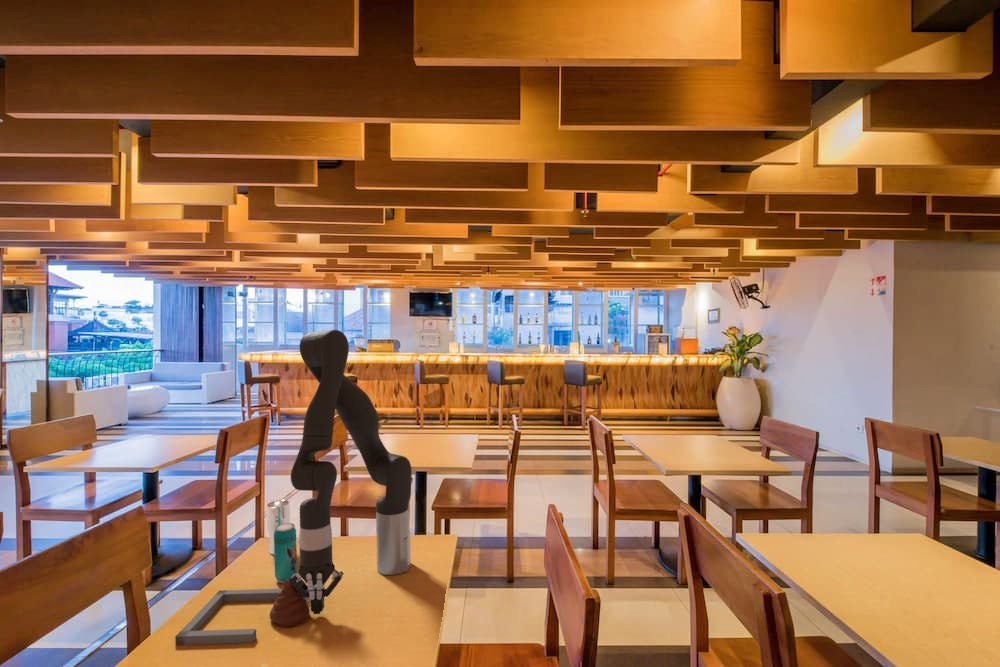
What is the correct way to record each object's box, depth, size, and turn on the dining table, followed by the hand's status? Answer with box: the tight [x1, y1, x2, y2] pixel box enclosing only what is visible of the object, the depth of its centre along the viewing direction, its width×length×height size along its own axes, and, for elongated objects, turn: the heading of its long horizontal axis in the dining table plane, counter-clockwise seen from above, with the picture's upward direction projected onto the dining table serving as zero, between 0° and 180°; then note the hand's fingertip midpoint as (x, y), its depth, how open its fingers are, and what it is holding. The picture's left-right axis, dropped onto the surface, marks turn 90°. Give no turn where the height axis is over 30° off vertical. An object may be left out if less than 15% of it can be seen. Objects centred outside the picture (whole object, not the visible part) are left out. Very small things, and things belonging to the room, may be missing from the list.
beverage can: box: [274, 522, 298, 584], centre depth 148 cm, size 6×6×15 cm
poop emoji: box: [269, 579, 311, 628], centre depth 129 cm, size 10×8×9 cm
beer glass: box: [265, 499, 291, 555], centre depth 167 cm, size 7×7×15 cm
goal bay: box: [174, 588, 282, 646], centre depth 129 cm, size 17×20×2 cm
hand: (317, 612), depth 130 cm, fingers closed
